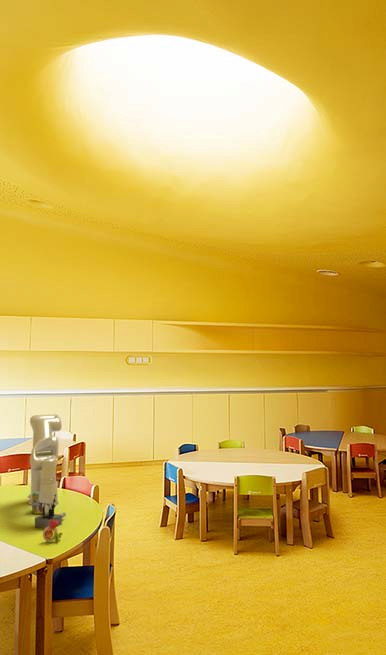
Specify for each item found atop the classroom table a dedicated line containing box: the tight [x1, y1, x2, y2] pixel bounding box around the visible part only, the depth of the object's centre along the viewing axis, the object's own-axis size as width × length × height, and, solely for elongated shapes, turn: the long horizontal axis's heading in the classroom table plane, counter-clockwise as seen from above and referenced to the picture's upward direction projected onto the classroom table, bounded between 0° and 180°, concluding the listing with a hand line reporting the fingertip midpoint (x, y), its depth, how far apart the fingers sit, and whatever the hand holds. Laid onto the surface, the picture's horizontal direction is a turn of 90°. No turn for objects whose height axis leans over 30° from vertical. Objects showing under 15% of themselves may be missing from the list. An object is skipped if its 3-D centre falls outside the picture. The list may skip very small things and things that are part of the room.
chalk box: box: [31, 488, 53, 515], centre depth 273 cm, size 9×9×15 cm
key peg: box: [44, 503, 52, 518], centre depth 249 cm, size 5×5×11 cm
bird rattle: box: [42, 520, 63, 544], centre depth 225 cm, size 6×11×9 cm
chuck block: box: [34, 512, 67, 530], centre depth 251 cm, size 10×17×5 cm, turn 151°
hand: (48, 515), depth 249 cm, fingers closed on key peg, 4 cm apart
